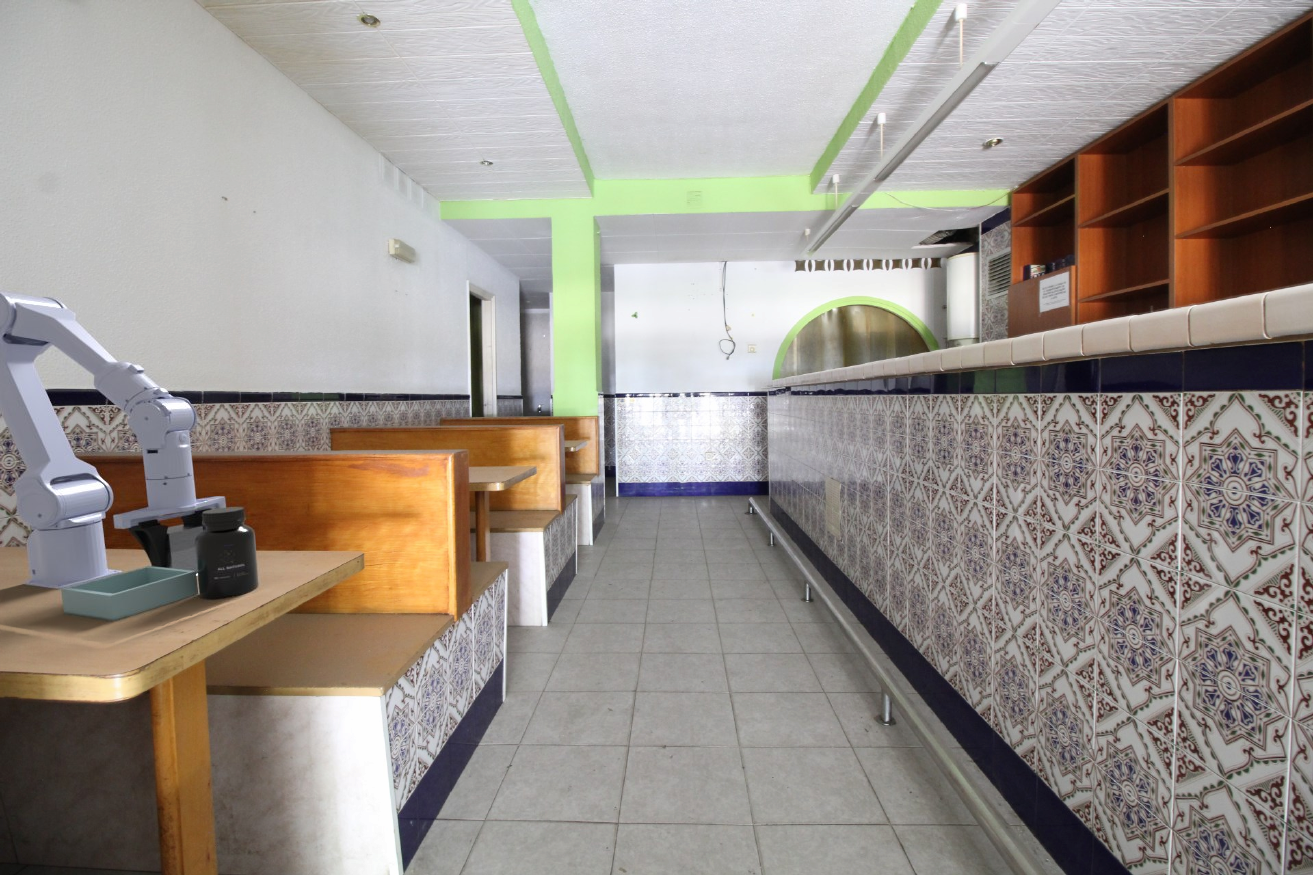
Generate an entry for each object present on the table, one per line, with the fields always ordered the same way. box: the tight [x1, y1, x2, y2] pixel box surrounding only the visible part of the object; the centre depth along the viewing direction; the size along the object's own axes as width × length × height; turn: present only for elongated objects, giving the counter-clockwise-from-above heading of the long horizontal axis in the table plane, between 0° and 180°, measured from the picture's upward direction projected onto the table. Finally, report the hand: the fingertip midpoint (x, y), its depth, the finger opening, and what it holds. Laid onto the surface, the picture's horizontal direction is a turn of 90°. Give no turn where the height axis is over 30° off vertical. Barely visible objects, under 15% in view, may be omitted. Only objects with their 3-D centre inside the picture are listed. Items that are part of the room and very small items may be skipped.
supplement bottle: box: [195, 506, 259, 601], centre depth 83 cm, size 7×7×12 cm
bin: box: [60, 565, 199, 622], centre depth 80 cm, size 10×10×4 cm
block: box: [150, 524, 203, 574], centre depth 92 cm, size 5×5×7 cm
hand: (179, 563), depth 92 cm, fingers closed on block, 5 cm apart
